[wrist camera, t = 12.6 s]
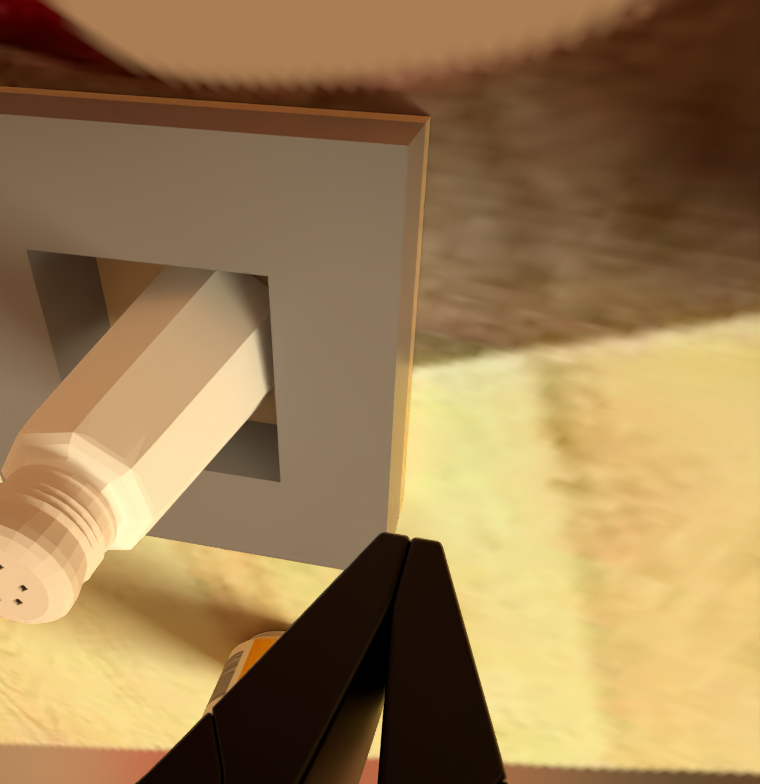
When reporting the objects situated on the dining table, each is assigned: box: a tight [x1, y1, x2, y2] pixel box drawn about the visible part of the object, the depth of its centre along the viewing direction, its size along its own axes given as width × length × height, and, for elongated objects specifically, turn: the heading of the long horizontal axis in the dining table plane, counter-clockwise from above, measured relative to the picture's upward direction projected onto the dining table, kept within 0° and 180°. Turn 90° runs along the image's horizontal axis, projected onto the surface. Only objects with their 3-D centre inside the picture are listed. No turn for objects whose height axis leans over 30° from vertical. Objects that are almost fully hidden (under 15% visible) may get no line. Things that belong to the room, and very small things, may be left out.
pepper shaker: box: [0, 265, 275, 624], centre depth 17 cm, size 5×5×11 cm
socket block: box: [0, 86, 431, 570], centre depth 21 cm, size 14×14×4 cm
